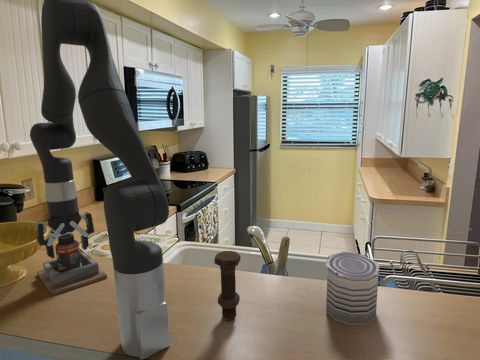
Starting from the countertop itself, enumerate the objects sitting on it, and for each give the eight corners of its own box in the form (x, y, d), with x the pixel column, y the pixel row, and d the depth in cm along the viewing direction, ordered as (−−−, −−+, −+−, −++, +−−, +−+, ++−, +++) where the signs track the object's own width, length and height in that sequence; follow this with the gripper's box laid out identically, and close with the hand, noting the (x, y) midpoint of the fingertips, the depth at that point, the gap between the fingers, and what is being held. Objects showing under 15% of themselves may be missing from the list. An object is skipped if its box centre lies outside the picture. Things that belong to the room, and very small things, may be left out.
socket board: (107, 277, 101) (105, 264, 100) (52, 295, 92) (50, 281, 91) (87, 260, 112) (86, 248, 112) (37, 274, 103) (35, 261, 103)
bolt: (219, 326, 78) (216, 261, 75) (214, 313, 83) (212, 252, 79) (244, 321, 79) (243, 258, 76) (238, 309, 84) (237, 249, 81)
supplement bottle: (86, 268, 104) (81, 231, 102) (75, 278, 98) (70, 239, 96) (67, 268, 105) (62, 231, 102) (54, 277, 99) (49, 239, 97)
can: (374, 301, 86) (377, 254, 84) (379, 329, 76) (382, 277, 73) (325, 295, 89) (327, 250, 87) (323, 321, 79) (325, 271, 76)
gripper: (35, 204, 90) (44, 265, 93) (93, 194, 99) (99, 249, 102) (28, 199, 95) (37, 256, 99) (84, 190, 104) (90, 242, 108)
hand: (69, 253), depth 100 cm, fingers open, 8 cm apart
